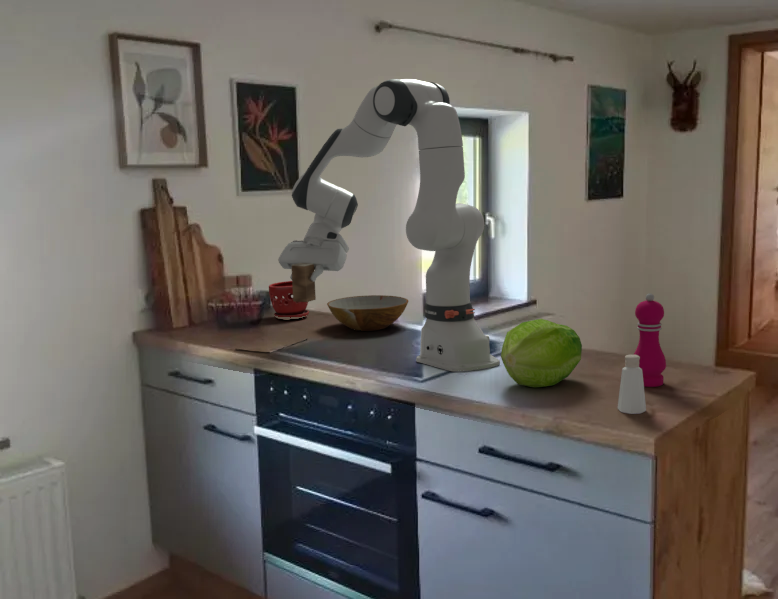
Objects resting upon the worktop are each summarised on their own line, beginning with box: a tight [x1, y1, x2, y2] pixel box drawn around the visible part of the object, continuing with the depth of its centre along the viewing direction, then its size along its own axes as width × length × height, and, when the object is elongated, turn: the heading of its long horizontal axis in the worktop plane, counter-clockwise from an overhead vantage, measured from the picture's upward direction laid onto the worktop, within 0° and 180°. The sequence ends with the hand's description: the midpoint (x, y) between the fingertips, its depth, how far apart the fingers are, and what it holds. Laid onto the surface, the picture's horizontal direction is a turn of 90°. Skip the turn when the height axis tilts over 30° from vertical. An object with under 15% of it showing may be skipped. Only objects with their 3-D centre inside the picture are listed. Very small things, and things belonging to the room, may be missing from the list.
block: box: [291, 263, 317, 303], centre depth 226 cm, size 4×4×10 cm
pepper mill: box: [633, 293, 667, 388], centre depth 177 cm, size 7×7×20 cm
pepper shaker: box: [617, 354, 647, 415], centre depth 159 cm, size 5×5×11 cm
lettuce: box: [500, 318, 583, 388], centre depth 180 cm, size 15×23×16 cm
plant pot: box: [268, 280, 310, 318], centre depth 269 cm, size 13×13×12 cm
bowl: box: [326, 294, 409, 332], centre depth 250 cm, size 25×25×8 cm
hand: (302, 279), depth 226 cm, fingers closed on block, 4 cm apart
